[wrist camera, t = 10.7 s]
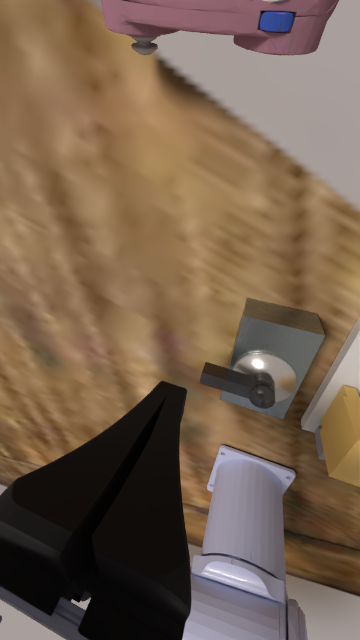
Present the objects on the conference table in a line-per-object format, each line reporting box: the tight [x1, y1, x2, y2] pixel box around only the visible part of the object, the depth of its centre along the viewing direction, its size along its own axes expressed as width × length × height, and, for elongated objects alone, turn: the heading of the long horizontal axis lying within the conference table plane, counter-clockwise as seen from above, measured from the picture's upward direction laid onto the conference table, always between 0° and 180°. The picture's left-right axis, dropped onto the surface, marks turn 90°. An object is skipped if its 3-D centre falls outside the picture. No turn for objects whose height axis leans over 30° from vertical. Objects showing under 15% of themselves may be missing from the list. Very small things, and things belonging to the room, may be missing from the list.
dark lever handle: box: [200, 362, 275, 409], centre depth 17 cm, size 5×2×2 cm, turn 83°
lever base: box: [220, 298, 325, 420], centre depth 19 cm, size 8×5×3 cm, turn 174°
